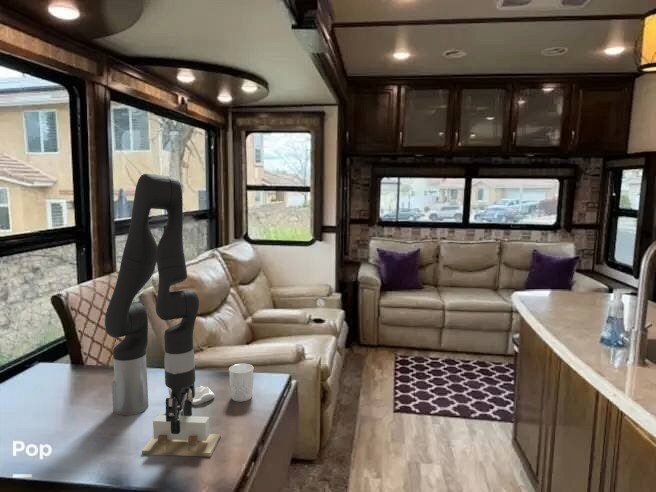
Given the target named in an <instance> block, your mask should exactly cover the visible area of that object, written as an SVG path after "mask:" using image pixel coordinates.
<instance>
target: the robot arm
mask: <svg viewBox="0 0 656 492" xmlns="http://www.w3.org/2000/svg"><path fill="white" fill-rule="evenodd" d="M137 180H138V181H137V182H136V187H135V189H134V190H135V191H134V196H133V204H132V210H131V216H130V217H131V218H130V224H129V228H128V233H127V237H126V241H125V245H124V248H123V252H122V256H121V257H122V258H121V260H120V266H119V271H118V275H117V278H116V282H115V286H114V289H113V292H112V296H111V298H110V301H109V304H108V305H107V309H106V311H105V316H104V328H105V331H106V334H108V336H110V337H112V338H122V337H124V338H122V340H121V341H120V342H118V343H117V345H115V346H114V348H113V349H112V358H113V359H112V360H113V377H114V379H113V381H112V383H111V394H112V395H111V396H112V412H113V413H115V414H117V415H121V416H133V415H137V414H140V413H142V412H145V411H146V410H147V409H148V408H149V393H148V391H149V390H148V389H149V388H148V369H147V366H148V365H147V347H148V343H149V336H148V335H149V332H148V331H149V318H148V317H149V316H148V312H147V309H146V307H145V306H144V304H142V303H140V302H139V301H138V302H137V301H134V299H135V298H136V296H137V294H138V293H140V291H141V290H142V289H143V288H144V287H145V285H146V284H147V283H148V282H149V280H150V279H151V277H153V274H154V273H155V270H156V267H157V272H158V289H157V290H158V291H157V295H156V301H155V313H156V315H157V316H158V318H159V319H160V320H161V321H162V320H163V321H170V320H171V321H172V320H178V319H181V321H180V322H179V323H178V324H175V325H172V326H170V327H168V328H167V329H165V331H164V338H163V339H164V356H163V357H164V361H163V363H164V385H165V386H166V387H167V388H170V389H171V390H172V392H171V396H170V397H166V398H165V415H166V422H171V433H172V434H179V433H180V416H193V409H192V406H193V405H192V402H193V399H192V398H194V397H195V389H196V388H195V383H196V362H195V358H196V357H195V352H194V329H195V323H196V319H197V316H198V313H199V308H200V300H199V299H200V298H199V296H198V294H197V293H196V292H195V291H194V290H193V289H192V290H191V289H184V290H177V291H175V290H174V291H170V288H171V286H173V285H177V284H180V283H182V282H185V281H186V280H187V278H188V270H187V264H186V258H185V252H184V241H183V240H184V239H183V229H184V228H183V227H184V226H183V224H184V223H183V222H184V221H183V220H184V215H183V214H184V211H183V205H184V204H183V201H184V200H183V199H184V198H183V190H182V184H181V182H180V181H179V179H178V178H176V177H174V176H168V175H163V174H162V175H160V174H154V173H153V174H152V173H143V174H141V176H140V177H139V178H138V179H137ZM152 209H153V210H163V211H164V210H165V211H166V213H167V214H166V215H167V224H166V227H165V229H164V231H163V234H162V235H161V238H159V239H160V240H159V242H158V243H157V242H156V240H155V237H154V235H153V233H152V230H151V228H150V224H149V218H150V212H151V210H152ZM191 391H192V393H191ZM177 406H180V407H177ZM177 411H178V412H177ZM181 414H182V415H181Z"/></svg>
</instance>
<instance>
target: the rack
mask: <svg viewBox="0 0 656 492" xmlns="http://www.w3.org/2000/svg"><path fill="white" fill-rule="evenodd" d="M221 438H222V435H221V433H210V435H209V437H208V438H207V440H206V441H197V436H189V437H188V440H168V439H167V435H160V434H159V436H158V439H154V435H153V436H151V438H150V440H149V441H148V442H147V443H146V445H145V446H143V448H142V450H141V454H142V455H158V456H159V455H161V456H181V457H182V456H183V457H188V456H189V457H211V456H212V455H213V453H214V451H215V449H216V447H217V446H218V444H219V442H220V439H221Z"/></svg>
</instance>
